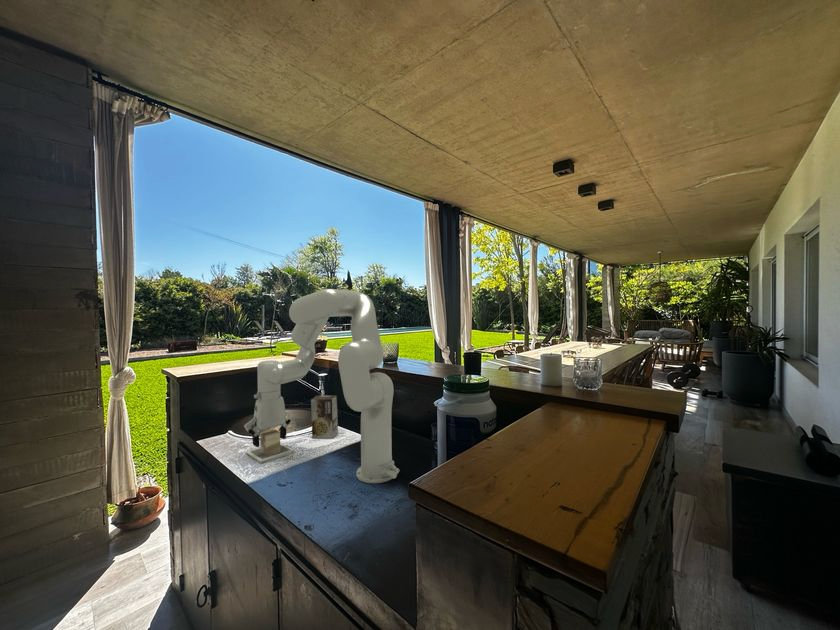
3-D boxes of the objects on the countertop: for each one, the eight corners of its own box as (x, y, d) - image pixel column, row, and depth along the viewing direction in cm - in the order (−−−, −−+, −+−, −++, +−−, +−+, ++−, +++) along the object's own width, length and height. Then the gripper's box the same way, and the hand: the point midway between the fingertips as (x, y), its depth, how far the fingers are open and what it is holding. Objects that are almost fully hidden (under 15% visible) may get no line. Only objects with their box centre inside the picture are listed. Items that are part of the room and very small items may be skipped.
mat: (294, 452, 125) (294, 449, 125) (261, 463, 116) (260, 460, 116) (278, 444, 133) (278, 441, 133) (246, 454, 123) (246, 451, 123)
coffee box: (338, 433, 144) (337, 395, 144) (333, 438, 138) (332, 398, 138) (317, 432, 145) (317, 394, 145) (311, 438, 139) (310, 398, 139)
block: (280, 451, 124) (280, 432, 124) (266, 455, 121) (266, 436, 120) (274, 447, 128) (273, 429, 128) (260, 452, 124) (260, 432, 124)
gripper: (249, 401, 115) (249, 452, 115) (296, 392, 128) (297, 437, 128) (239, 398, 120) (240, 446, 120) (286, 389, 133) (287, 433, 133)
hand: (270, 442), depth 124 cm, fingers open, 9 cm apart
